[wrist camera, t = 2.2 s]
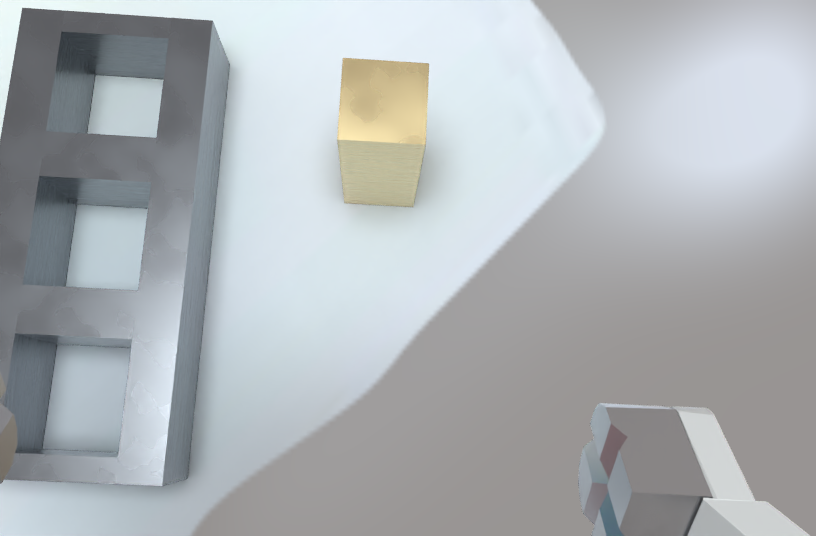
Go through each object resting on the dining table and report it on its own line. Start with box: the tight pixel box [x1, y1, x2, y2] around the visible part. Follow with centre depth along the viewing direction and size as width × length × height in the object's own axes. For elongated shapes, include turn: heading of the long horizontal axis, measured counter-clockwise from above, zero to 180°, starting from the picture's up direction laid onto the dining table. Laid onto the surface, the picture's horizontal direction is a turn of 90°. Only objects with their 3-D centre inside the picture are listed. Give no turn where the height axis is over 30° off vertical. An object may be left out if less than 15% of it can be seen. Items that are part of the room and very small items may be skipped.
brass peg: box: [337, 58, 429, 207], centre depth 39 cm, size 4×4×10 cm
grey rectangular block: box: [0, 8, 230, 486], centre depth 40 cm, size 24×10×5 cm, turn 177°
